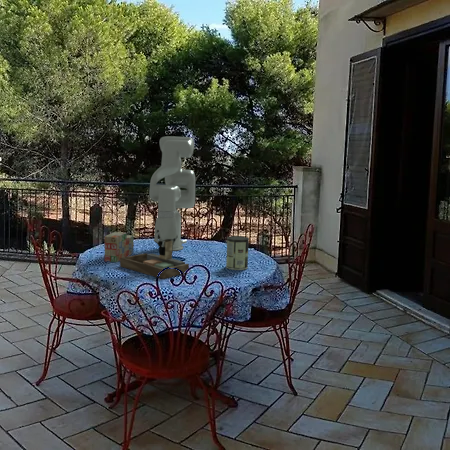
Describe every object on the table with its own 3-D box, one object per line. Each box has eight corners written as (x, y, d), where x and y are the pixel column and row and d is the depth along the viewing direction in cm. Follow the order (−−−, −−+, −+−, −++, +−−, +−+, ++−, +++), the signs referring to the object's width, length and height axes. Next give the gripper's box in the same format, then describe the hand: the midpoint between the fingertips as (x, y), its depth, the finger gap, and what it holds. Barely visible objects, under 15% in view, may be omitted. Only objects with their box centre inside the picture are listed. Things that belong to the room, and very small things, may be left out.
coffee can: (237, 263, 241) (238, 235, 239) (252, 268, 233) (253, 238, 231) (221, 266, 234) (222, 237, 232) (236, 271, 226) (237, 240, 224)
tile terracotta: (153, 265, 232) (153, 259, 232) (162, 267, 228) (162, 261, 228) (143, 267, 228) (143, 261, 227) (152, 270, 224) (152, 263, 223)
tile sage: (164, 268, 227) (164, 262, 227) (173, 271, 224) (173, 264, 223) (154, 270, 223) (154, 264, 222) (163, 273, 219) (163, 266, 219)
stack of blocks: (122, 252, 256) (122, 228, 254) (133, 253, 255) (134, 229, 253) (104, 261, 236) (104, 235, 234) (116, 262, 234) (116, 236, 232)
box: (145, 261, 238) (146, 253, 238) (188, 272, 220) (188, 264, 220) (120, 266, 227) (120, 257, 226) (163, 279, 209) (163, 269, 208)
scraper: (152, 259, 237) (153, 236, 236) (185, 268, 223) (186, 244, 222) (146, 260, 234) (146, 237, 232) (179, 269, 220) (180, 245, 219)
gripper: (174, 212, 234) (173, 250, 237) (146, 215, 221) (146, 255, 224) (185, 213, 229) (184, 253, 232) (158, 217, 216) (157, 258, 219)
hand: (165, 253), depth 228 cm, fingers closed on scraper, 4 cm apart
